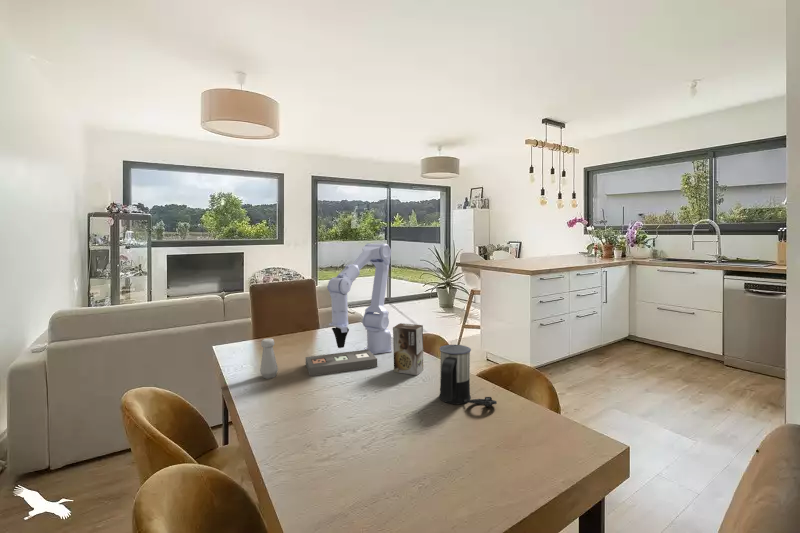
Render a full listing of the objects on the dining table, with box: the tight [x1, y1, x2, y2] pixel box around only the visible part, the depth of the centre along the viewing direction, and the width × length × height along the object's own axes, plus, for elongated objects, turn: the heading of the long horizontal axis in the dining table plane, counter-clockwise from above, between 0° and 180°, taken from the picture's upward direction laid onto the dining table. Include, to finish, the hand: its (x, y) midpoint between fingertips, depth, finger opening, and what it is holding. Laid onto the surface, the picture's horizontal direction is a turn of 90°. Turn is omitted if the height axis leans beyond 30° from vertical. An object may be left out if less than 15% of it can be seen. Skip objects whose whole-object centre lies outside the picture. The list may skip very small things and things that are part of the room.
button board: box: [305, 349, 378, 377], centre depth 141 cm, size 24×12×3 cm, turn 110°
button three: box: [312, 358, 326, 364], centre depth 139 cm, size 4×4×3 cm
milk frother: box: [438, 344, 497, 408], centre depth 110 cm, size 14×16×15 cm
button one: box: [355, 353, 369, 358], centre depth 144 cm, size 4×4×3 cm
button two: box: [334, 356, 348, 361], centre depth 141 cm, size 4×4×3 cm
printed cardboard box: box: [392, 322, 424, 376], centre depth 135 cm, size 9×6×16 cm
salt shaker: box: [259, 337, 279, 380], centre depth 131 cm, size 6×6×13 cm
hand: (340, 347), depth 141 cm, fingers closed
